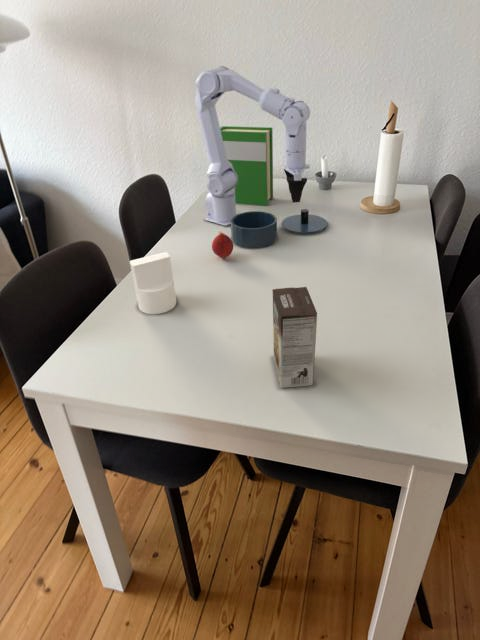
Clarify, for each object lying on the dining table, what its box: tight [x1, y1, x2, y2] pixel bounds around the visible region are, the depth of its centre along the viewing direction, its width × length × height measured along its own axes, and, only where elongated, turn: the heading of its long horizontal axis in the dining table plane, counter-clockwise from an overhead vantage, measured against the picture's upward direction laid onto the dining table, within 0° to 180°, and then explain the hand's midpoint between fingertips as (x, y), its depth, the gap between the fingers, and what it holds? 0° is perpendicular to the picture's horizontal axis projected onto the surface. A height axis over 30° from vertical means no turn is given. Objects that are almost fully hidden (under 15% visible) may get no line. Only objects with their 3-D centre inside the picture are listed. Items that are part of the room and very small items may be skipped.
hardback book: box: [220, 125, 274, 207], centre depth 162 cm, size 18×7×24 cm, turn 70°
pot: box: [230, 210, 278, 250], centre depth 140 cm, size 13×13×6 cm
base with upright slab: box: [129, 251, 177, 315], centre depth 110 cm, size 9×9×12 cm
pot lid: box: [280, 208, 329, 235], centre depth 146 cm, size 14×14×5 cm
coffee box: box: [271, 286, 318, 389], centre depth 86 cm, size 9×6×16 cm
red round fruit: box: [211, 231, 234, 260], centre depth 129 cm, size 6×6×8 cm
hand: (294, 197), depth 139 cm, fingers open, 7 cm apart
